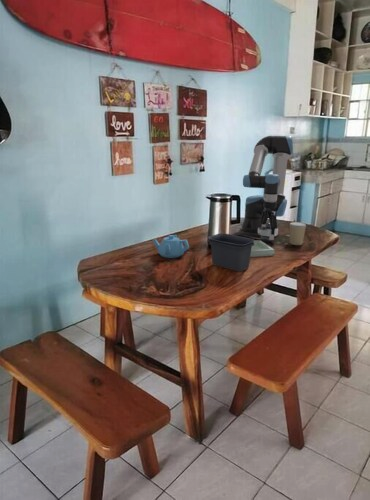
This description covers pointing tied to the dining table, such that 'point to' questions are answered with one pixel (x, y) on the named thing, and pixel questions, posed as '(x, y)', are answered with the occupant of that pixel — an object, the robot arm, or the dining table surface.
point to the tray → (261, 249)
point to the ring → (266, 231)
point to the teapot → (171, 246)
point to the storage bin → (231, 251)
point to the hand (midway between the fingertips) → (267, 237)
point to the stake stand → (266, 238)
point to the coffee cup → (296, 233)
